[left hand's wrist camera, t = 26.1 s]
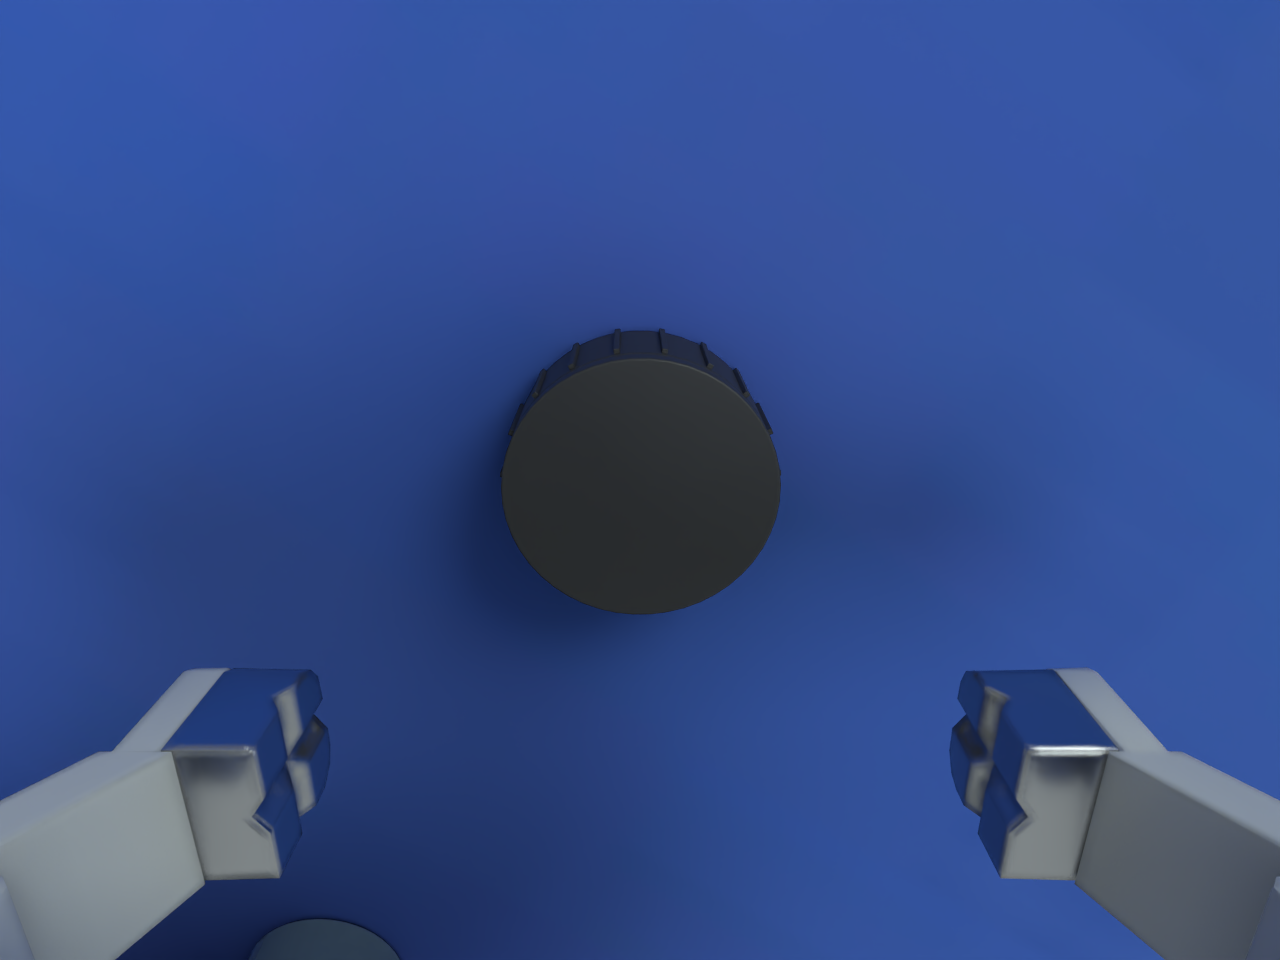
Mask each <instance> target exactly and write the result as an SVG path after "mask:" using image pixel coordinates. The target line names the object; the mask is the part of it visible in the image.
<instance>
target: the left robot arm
mask: <svg viewBox="0 0 1280 960" xmlns="http://www.w3.org/2000/svg"><path fill="white" fill-rule="evenodd" d="M322 699H323V698H322V693H321V689H320V684H319V679H318V676H317V675H316V674H315V673H314V672H313V671H311V670H296V669H249V668H233V669H230V668H193V669H190V670H187V671H184V672H183V673H182V674H181V675H180V676H179V677H178V678H177V679H176V680H175V682H174V683H173V684H172V685H171V686H170V687H169V688H168V689H167V691H166V692H165V693H164V694H163V695H162V696H161V697H160V698H159V699H158V701H157V702H156V703H155V704H154V705H153V706H152V707H151V708H150V709H149V711H148V712H147V713H146V714H145V715H144V716H143V717H142V718H141V720H140V721H139V722H138V723H137V724H136V725H135V726H134V727H133V728H132V730H131V731H130V732H129V733H128V734H127V735H126V736H125V737H124V738H123V740H122V741H121V742H120V743H119V744H118V745H117V746H116V747H115V749H114V750H113V751H112V752H97V753H95V754H93V755H91V756H89V757H87V758H85V759H83V760H81V761H79V762H77V763H75V764H73V765H71V766H69V767H67V768H65V769H63V770H61V771H59V772H57V773H55V774H53V775H51V776H49V777H47V778H45V779H43V780H41V781H39V782H37V783H35V784H33V785H31V786H29V787H27V788H25V789H23V790H21V791H19V792H17V793H15V794H13V795H11V796H9V797H7V798H5V799H3V800H1V801H0V960H115V959H117V958H118V957H119V956H120V955H121V954H122V953H124V952H125V951H126V950H127V949H128V948H130V947H131V946H132V945H133V944H134V943H136V942H137V941H138V940H139V939H140V938H142V937H143V936H144V935H145V934H146V933H148V932H149V931H150V930H151V929H152V928H154V927H155V926H156V925H157V924H158V923H159V922H161V921H162V920H163V919H164V918H165V917H167V916H168V915H169V914H170V913H171V912H173V911H174V910H175V909H176V908H177V907H179V906H180V905H181V904H182V903H183V902H185V901H186V900H187V899H188V898H189V897H191V896H192V895H193V894H194V893H195V892H196V891H198V890H199V889H200V888H201V887H202V886H204V885H205V881H204V880H231V879H266V878H280V876H281V874H282V872H283V870H284V868H285V867H286V865H287V863H288V861H289V859H290V857H291V855H292V853H293V851H294V849H295V847H296V845H297V843H298V841H299V839H300V837H301V835H302V829H301V824H300V818H299V817H300V816H302V815H303V814H305V813H306V812H307V811H309V810H310V809H312V808H313V807H314V806H316V805H317V803H318V801H319V798H320V796H321V794H322V792H323V790H324V788H325V784H326V780H327V775H328V770H329V766H330V740H329V734H328V728H327V727H326V726H325V725H324V724H323V723H322V722H321V721H320V720H319V719H318V718H317V717H316V716H315V715H314V713H315V711H316V709H317V707H318V706H319V704H320V702H321V701H322ZM957 699H958V700H959V702H960V704H961V706H962V707H963V709H964V711H965V713H966V715H965V716H964V717H963V718H962V719H961V720H960V721H959V722H958V723H957V724H956V725H955V726H954V727H953V728H952V735H951V743H950V750H949V751H950V763H951V773H952V777H953V780H954V784H955V787H956V790H957V792H958V794H959V796H960V799H961V801H962V803H963V805H964V806H966V807H967V808H968V809H970V810H971V811H973V812H974V813H975V814H977V815H978V816H980V817H981V818H980V824H979V829H978V835H979V837H980V839H981V841H982V843H983V845H984V847H985V849H986V851H987V853H988V855H989V857H990V858H991V860H992V862H993V864H994V866H995V868H996V870H997V872H998V874H999V876H1000V878H1012V879H1048V880H1075V884H1076V885H1077V886H1078V887H1079V888H1080V889H1082V890H1083V891H1084V892H1085V893H1086V894H1087V895H1089V896H1090V897H1091V898H1092V899H1093V900H1095V901H1096V902H1097V903H1098V904H1099V905H1101V906H1102V907H1103V908H1104V909H1105V910H1107V911H1108V912H1109V913H1110V914H1111V915H1112V916H1114V917H1115V918H1116V919H1117V920H1118V921H1120V922H1121V923H1122V924H1123V925H1124V926H1126V927H1127V928H1128V929H1129V930H1130V931H1132V932H1133V933H1134V934H1135V935H1136V936H1138V937H1139V938H1140V939H1141V940H1142V941H1143V942H1145V943H1146V944H1147V945H1148V946H1149V947H1151V948H1152V949H1153V950H1154V951H1155V952H1157V953H1158V954H1159V955H1160V956H1161V957H1163V958H1164V959H1165V960H1280V801H1279V800H1277V799H1275V798H1273V797H1271V796H1269V795H1267V794H1265V793H1263V792H1261V791H1259V790H1257V789H1255V788H1253V787H1251V786H1249V785H1247V784H1245V783H1243V782H1241V781H1239V780H1237V779H1235V778H1233V777H1231V776H1229V775H1227V774H1225V773H1223V772H1221V771H1219V770H1217V769H1215V768H1213V767H1211V766H1209V765H1207V764H1205V763H1203V762H1201V761H1199V760H1197V759H1195V758H1193V757H1191V756H1189V755H1187V754H1185V753H1183V752H1168V751H1167V750H1166V749H1165V747H1164V746H1163V745H1162V744H1161V743H1160V742H1159V741H1158V740H1157V738H1156V737H1155V736H1154V735H1153V734H1152V733H1151V732H1150V731H1149V730H1148V728H1147V727H1146V726H1145V725H1144V724H1143V723H1142V722H1141V721H1140V720H1139V718H1138V717H1137V716H1136V715H1135V714H1134V713H1133V712H1132V711H1131V709H1130V708H1129V707H1128V706H1127V705H1126V704H1125V703H1124V702H1123V701H1122V699H1121V698H1120V697H1119V696H1118V695H1117V694H1116V693H1115V692H1114V690H1113V689H1112V688H1111V687H1110V686H1109V685H1108V684H1107V683H1106V682H1105V680H1104V679H1103V678H1102V677H1101V676H1100V675H1099V674H1098V673H1097V672H1096V671H1093V670H1091V669H1089V668H1087V667H1086V668H1056V669H1046V670H990V671H966V672H965V674H964V676H963V678H962V680H961V682H960V687H959V693H958V698H957Z"/></svg>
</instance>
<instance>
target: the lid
mask: <svg viewBox="0 0 1280 960" xmlns="http://www.w3.org/2000/svg"><path fill="white" fill-rule="evenodd" d="M770 434H773V432H772V429H771V427H770V425H769V423H768V421H767V419H766V417H765V414H764V412H763V410H762V408H761V406H760V404H759V403H756V404H755V403H754V401H753V399H752V397H751V395H750V393H749V391H748V389H747V387H746V385H745V383H744V381H743V379H742V376H741V374H740V372H739V371H738V369H737V368H735V369H734V370H732V369H731V368H730V367H729V366H728V365H727V364H726V363H725V362H724V361H723V360H721V359H720V358H719V357H717V356H716V355H715V354H714V353H712V352H711V351H709V350H708V348H707V346H706V344H704V343H703V342H701V344H700V345H698V344H697V343H694V342H692V341H689V340H687V339H684V338H682V337H678V336H674V335H671V334H667V333H665V330H664V329H659V332H652V331H628V332H621V331H620V329H616V330H615V333H613V334H610V335H606V336H602V337H599V338H596V339H593V340H591V341H589V342H586V343H584V344H582V345H579V343H576V344H574V345H573V349H572V350H571V351H570V352H568V353H567V354H565V355H564V356H563V357H561V358H560V359H559V360H558V361H556V362H555V363H554V364H553V365H552V366H551V367H550V368H549V369H548V370H547V371H546V370H545V369H543V370H542V371H541V372H540V374H539V377H538V379H537V382H536V385H535V386H534V388H533V389H532V391H531V393H530V395H529V397H528V399H527V400H526V402H525V405H524V404H520V406H519V409H518V411H517V414H516V416H515V419H514V421H513V423H512V426H511V428H510V431H509V433H508V435H511V436H512V438H511V441H510V443H509V446H508V449H507V452H506V455H505V460H504V464H503V467H502V470H501V472H500V477H502V481H501V492H502V504H503V509H504V513H505V518H506V522H507V524H508V527H509V530H510V532H511V535H512V537H513V539H514V541H515V543H516V544H517V546H518V548H519V550H520V551H521V553H522V554H523V556H524V557H525V558H526V560H527V561H528V563H529V564H530V565H531V566H532V567H533V568H534V569H535V570H536V571H537V572H538V574H539V575H540V576H541V577H543V578H544V579H545V580H546V581H547V582H549V583H550V584H551V585H552V586H553V587H555V588H556V589H558V590H560V591H561V592H563V593H564V594H566V595H567V596H569V597H571V598H573V599H575V600H578V601H580V602H582V603H584V604H587V605H590V606H593V607H595V608H598V609H602V610H607V611H611V612H616V613H625V614H655V613H663V612H669V611H674V610H678V609H682V608H685V607H688V606H691V605H694V604H696V603H699V602H701V601H703V600H705V599H707V598H709V597H711V596H713V595H715V594H717V593H718V592H720V591H721V590H723V589H724V588H726V587H727V586H729V585H730V584H731V583H732V582H733V581H735V580H736V579H737V578H738V577H739V576H740V575H742V574H743V572H744V571H745V570H746V569H747V568H748V567H749V566H750V565H751V564H752V563H753V561H754V560H755V559H756V557H757V556H758V554H759V553H760V551H761V550H762V549H763V547H764V545H765V543H766V541H767V539H768V537H769V535H770V533H771V531H772V528H773V525H774V522H775V520H776V516H777V511H778V507H779V502H780V488H781V482H780V476H781V470H780V468H779V464H778V459H777V455H776V451H775V448H774V445H773V443H772V440H771V437H770Z"/></svg>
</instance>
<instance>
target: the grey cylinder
mask: <svg viewBox="0 0 1280 960" xmlns="http://www.w3.org/2000/svg"><path fill="white" fill-rule="evenodd" d="M248 960H400V959H399V957H398V956H397V954H396V953H395V951H394V950H393V949H392V948H391V947H390V945H388V944H387V943H386V942H385V941H384V940H383V939H381V938H380V937H378V936H377V935H376V934H374V933H372V932H370V931H368V930H366V929H364V928H362V927H359V926H357V925H354V924H351V923H347V922H343V921H338V920H330V919H306V920H300V921H295V922H291V923H288V924H285V925H282V926H280V927H278V928H276V929H274V930H272V931H271V932H269V933H268V934H267V935H265V936H264V937H263V938H262V939H261V940H260V941H259V942H258V943H257V944H256V946H255V947H254V949H253V950H252V952H251V954H250V957H249V959H248Z"/></svg>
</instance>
